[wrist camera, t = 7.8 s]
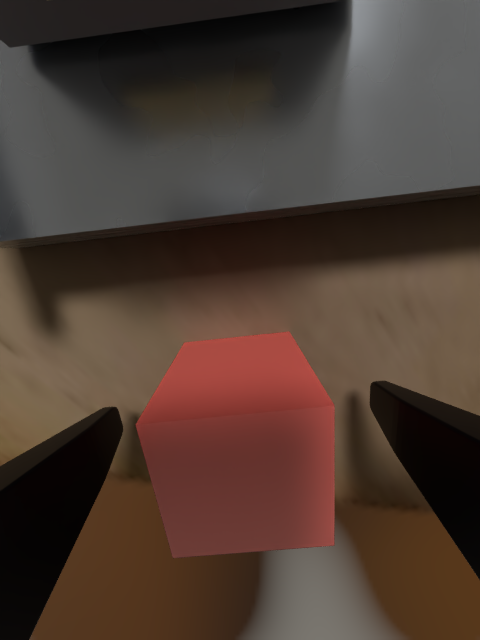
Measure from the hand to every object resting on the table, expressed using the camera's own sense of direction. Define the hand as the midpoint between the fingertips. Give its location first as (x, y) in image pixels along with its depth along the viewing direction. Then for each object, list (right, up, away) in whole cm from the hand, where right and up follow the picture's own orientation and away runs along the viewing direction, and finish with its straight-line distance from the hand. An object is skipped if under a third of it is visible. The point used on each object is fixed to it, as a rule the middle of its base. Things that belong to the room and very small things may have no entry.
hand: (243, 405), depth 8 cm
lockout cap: (0, 0, +1) cm, 2 cm away
